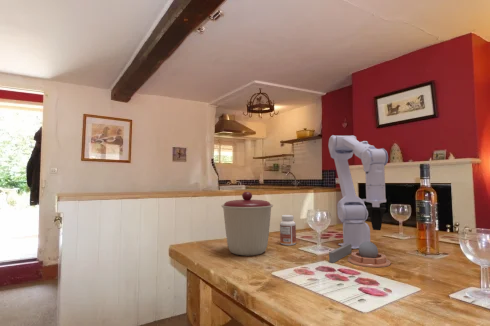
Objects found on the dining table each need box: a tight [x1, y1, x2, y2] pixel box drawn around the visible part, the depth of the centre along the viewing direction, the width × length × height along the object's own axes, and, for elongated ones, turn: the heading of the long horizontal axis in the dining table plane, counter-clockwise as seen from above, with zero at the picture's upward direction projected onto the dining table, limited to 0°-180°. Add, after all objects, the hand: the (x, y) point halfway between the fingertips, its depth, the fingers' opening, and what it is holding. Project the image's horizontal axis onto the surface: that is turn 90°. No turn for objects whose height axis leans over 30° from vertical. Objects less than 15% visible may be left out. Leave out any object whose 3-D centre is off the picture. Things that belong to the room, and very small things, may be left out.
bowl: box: [347, 250, 391, 268], centre depth 89 cm, size 12×12×2 cm
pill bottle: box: [279, 214, 297, 246], centre depth 115 cm, size 6×6×11 cm
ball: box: [358, 241, 379, 258], centre depth 89 cm, size 6×6×6 cm
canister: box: [221, 191, 274, 257], centre depth 102 cm, size 18×18×21 cm
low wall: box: [328, 243, 353, 264], centre depth 94 cm, size 16×1×3 cm, turn 141°
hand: (376, 228), depth 94 cm, fingers open, 7 cm apart
